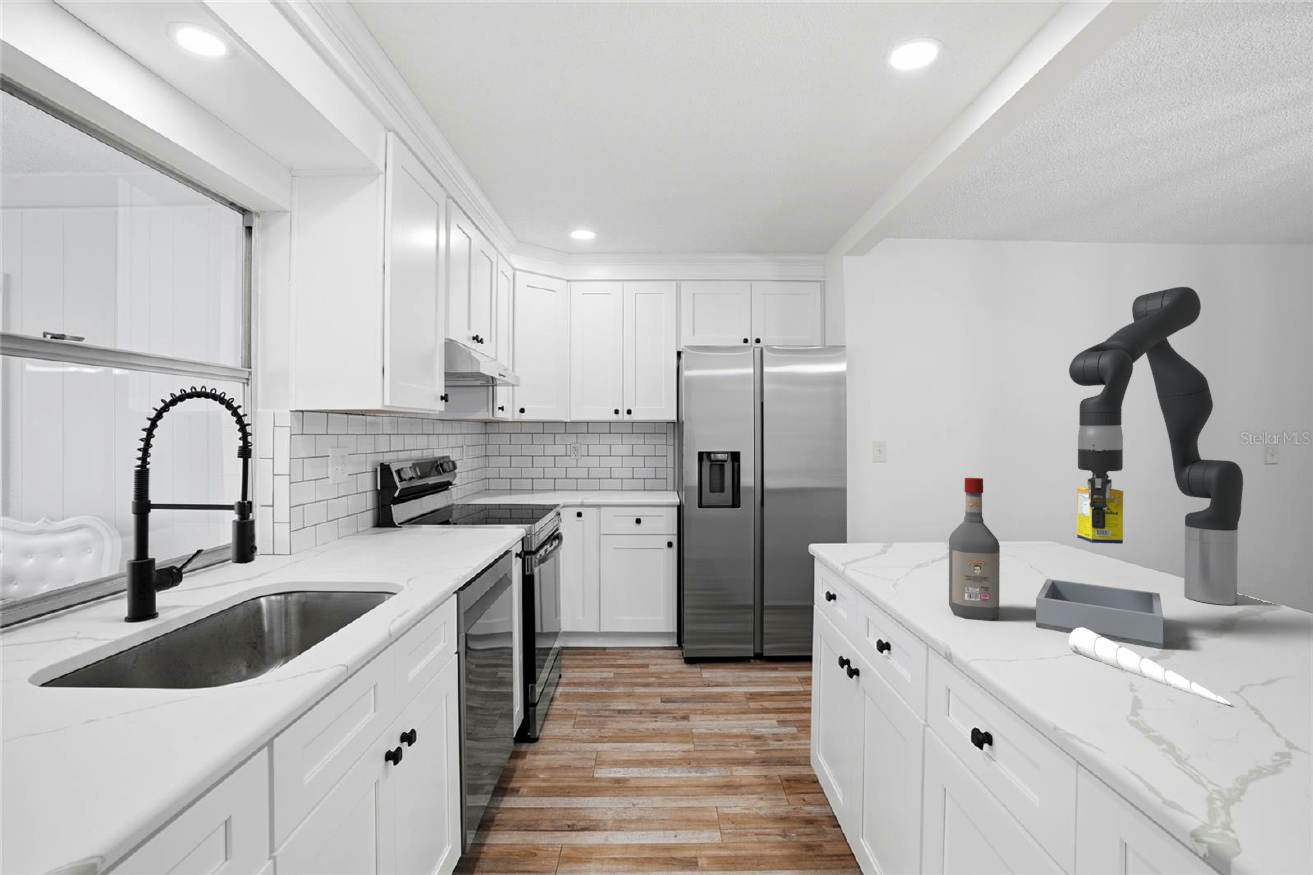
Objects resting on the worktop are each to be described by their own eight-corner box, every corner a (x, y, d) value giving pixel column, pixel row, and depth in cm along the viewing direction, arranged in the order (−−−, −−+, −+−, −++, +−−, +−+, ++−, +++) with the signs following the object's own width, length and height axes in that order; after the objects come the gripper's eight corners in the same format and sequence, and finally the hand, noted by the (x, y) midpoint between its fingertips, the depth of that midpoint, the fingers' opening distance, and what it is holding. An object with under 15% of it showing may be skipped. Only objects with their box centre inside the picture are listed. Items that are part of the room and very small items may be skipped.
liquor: (1001, 622, 127) (1002, 480, 126) (953, 617, 130) (954, 479, 129) (992, 609, 135) (992, 477, 135) (947, 606, 138) (948, 476, 138)
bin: (1046, 604, 139) (1047, 578, 139) (1159, 621, 127) (1159, 593, 126) (1035, 627, 123) (1036, 598, 123) (1162, 649, 111) (1163, 616, 111)
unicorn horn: (1213, 712, 87) (1213, 679, 87) (1065, 653, 110) (1065, 627, 110) (1237, 708, 88) (1237, 675, 88) (1086, 650, 111) (1086, 625, 111)
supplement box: (1123, 544, 121) (1124, 490, 121) (1090, 543, 122) (1091, 490, 122) (1108, 538, 127) (1108, 487, 127) (1076, 537, 128) (1076, 487, 128)
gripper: (1080, 446, 132) (1079, 519, 133) (1075, 448, 121) (1074, 528, 121) (1123, 446, 128) (1122, 523, 128) (1122, 448, 116) (1121, 532, 117)
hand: (1099, 525), depth 125 cm, fingers closed on supplement box, 8 cm apart
